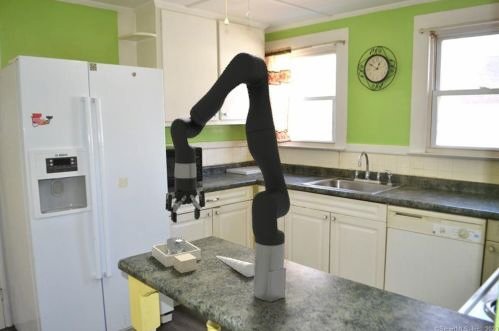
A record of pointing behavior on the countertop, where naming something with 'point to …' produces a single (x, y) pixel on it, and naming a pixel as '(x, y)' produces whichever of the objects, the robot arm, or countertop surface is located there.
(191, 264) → the carton
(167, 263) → the box
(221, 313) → the countertop surface
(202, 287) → the countertop surface
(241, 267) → the unicorn horn
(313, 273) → the countertop surface
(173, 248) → the tin can
